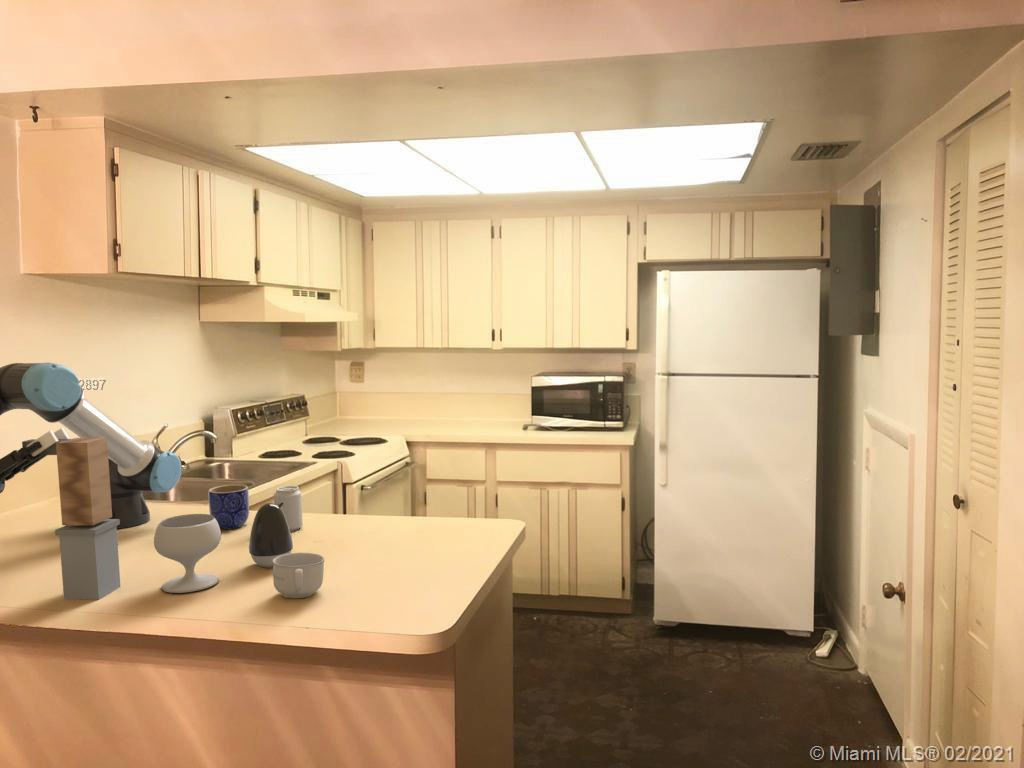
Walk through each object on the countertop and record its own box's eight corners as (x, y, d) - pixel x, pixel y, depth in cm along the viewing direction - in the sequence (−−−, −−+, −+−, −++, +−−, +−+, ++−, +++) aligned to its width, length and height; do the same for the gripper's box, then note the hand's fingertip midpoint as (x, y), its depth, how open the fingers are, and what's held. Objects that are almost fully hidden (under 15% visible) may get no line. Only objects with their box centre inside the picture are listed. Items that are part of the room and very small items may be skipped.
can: (295, 533, 218) (293, 490, 217) (270, 532, 220) (268, 490, 219) (307, 525, 225) (305, 485, 224) (283, 525, 227) (281, 484, 226)
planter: (258, 524, 228) (256, 486, 227) (226, 533, 219) (224, 494, 218) (233, 519, 234) (231, 483, 233) (202, 528, 225) (200, 490, 224)
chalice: (196, 571, 186) (193, 509, 185) (236, 580, 179) (233, 516, 178) (143, 589, 174) (139, 524, 173) (184, 600, 167) (179, 531, 166)
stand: (60, 599, 169) (55, 529, 168) (86, 585, 178) (81, 518, 176) (99, 600, 168) (94, 530, 167) (123, 586, 177) (119, 519, 176)
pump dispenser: (302, 559, 194) (299, 499, 193) (276, 572, 184) (273, 509, 183) (267, 556, 197) (264, 496, 196) (241, 568, 188) (237, 506, 186)
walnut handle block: (22, 525, 169) (15, 443, 168) (44, 516, 176) (37, 437, 174) (92, 525, 168) (86, 442, 166) (112, 516, 175) (106, 437, 173)
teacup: (280, 586, 175) (278, 551, 174) (329, 584, 176) (327, 549, 175) (265, 609, 161) (263, 571, 160) (319, 607, 162) (317, 569, 161)
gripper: (12, 493, 181) (92, 443, 178) (-43, 511, 165) (43, 455, 162) (-5, 465, 181) (74, 414, 178) (-62, 480, 165) (24, 425, 162)
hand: (59, 434), depth 170 cm, fingers closed on walnut handle block, 3 cm apart
